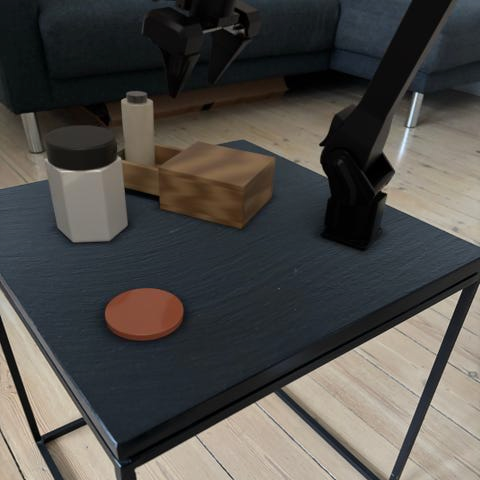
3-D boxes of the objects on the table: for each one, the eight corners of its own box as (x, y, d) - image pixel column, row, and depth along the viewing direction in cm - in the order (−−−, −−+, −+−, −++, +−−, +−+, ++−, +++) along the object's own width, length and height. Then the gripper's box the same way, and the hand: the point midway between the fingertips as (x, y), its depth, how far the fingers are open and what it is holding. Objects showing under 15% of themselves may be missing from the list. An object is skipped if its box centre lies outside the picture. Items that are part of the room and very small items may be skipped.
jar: (138, 232, 67) (130, 141, 60) (79, 251, 63) (63, 155, 56) (105, 207, 73) (94, 120, 65) (49, 222, 68) (30, 131, 61)
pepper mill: (161, 170, 79) (159, 93, 72) (143, 178, 76) (139, 99, 69) (138, 163, 80) (134, 88, 74) (119, 171, 77) (113, 93, 71)
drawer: (94, 184, 76) (90, 156, 73) (133, 161, 84) (131, 134, 81) (169, 203, 72) (168, 173, 70) (203, 177, 80) (203, 149, 77)
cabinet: (159, 208, 73) (157, 167, 69) (197, 179, 81) (197, 141, 78) (241, 229, 69) (243, 186, 66) (272, 196, 78) (275, 157, 74)
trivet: (199, 311, 55) (198, 305, 54) (148, 352, 49) (147, 345, 49) (142, 285, 58) (141, 279, 57) (88, 320, 53) (87, 314, 52)
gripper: (208, -70, 67) (184, 52, 78) (113, -71, 54) (99, 75, 65) (279, -34, 65) (244, 86, 76) (197, -27, 52) (169, 117, 63)
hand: (192, 89), depth 70 cm, fingers open, 9 cm apart
